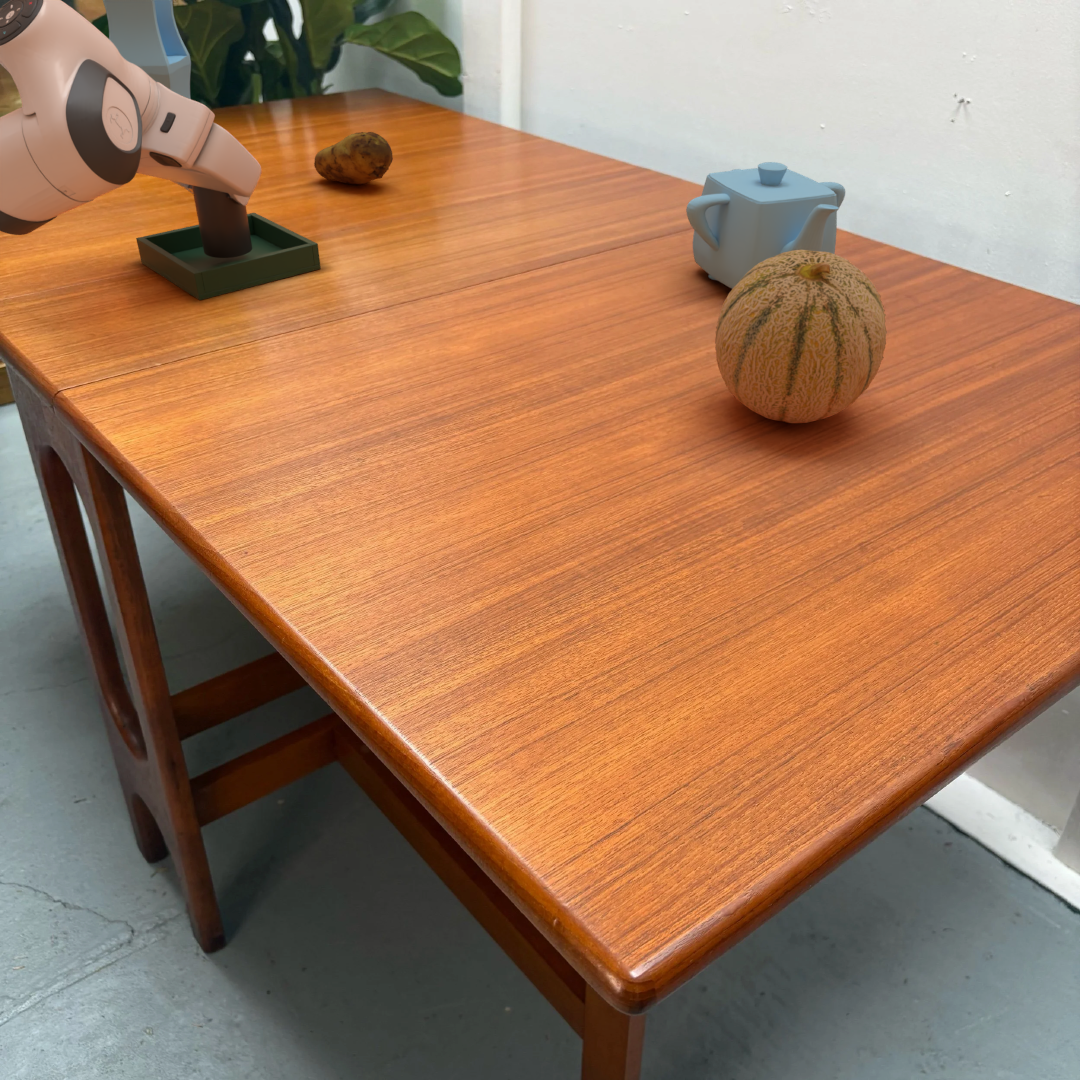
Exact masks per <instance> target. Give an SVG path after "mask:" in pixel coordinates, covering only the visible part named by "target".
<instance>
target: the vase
mask: <svg viewBox="0 0 1080 1080" xmlns="http://www.w3.org/2000/svg"><path fill="white" fill-rule="evenodd" d="M102 3H103V6H104V9H105V12H106V18H107V23H108V36H109V37H108V39H109V40H110V41H111V42H112V43H113V44H114V45H115V46H116V48H117V49H118V51H119V53H120V54H121V56H122V57H123V58H124V59H125V60H127V61H128V62H130V63H133V64H135V65H136V66H138V67H140V68H141V69H142V70H143V71H144V72H145V73H147V74H148V75H149V76H150V77H151V78H152V79H153V80H154V81H155V82H159V83H161V84H162V85H164V86H165V87H167V88H168V89H170V90H171V91H173V92H175V93H177V94H180V95H182V96H184V97H187V98H189V99H191V72H192V71H191V69H192V61H191V56H190V55H191V54H190V53H189V51H188V49H187V47H186V45H185V43H184V41H183V40H182V36H181V35H180V31H179V28H178V26H177V23H176V19H175V14H174V6H173V5H174V4H173V0H102Z"/></svg>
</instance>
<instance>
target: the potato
mask: <svg viewBox="0 0 1080 1080" xmlns="http://www.w3.org/2000/svg"><path fill="white" fill-rule="evenodd" d="M393 159H394V157H393V150H392V148H391V145H390V144H389V142H388V140H387V139H386V138H384V137H383V136H382V135H380V134H378V133H376V132H374V131H368V132H366V131H361V132H355V133H351V134H349V135H347V136H345V137H344V138H343V139H341V140H340V141H338V142H337V143H335V144H332V145H330V146H327V147H325V148H322V149H321V150H319V151H318V152H317V153H316V155H315V156H314V163H313V164H314V165H313V166H314V168H315V170H316V171H317V174H319V176H321V178H323V179H325V180H327V181H332V182H333V181H334V182H340V183H342V184H343V183H344V184H348V185H365V184H368V183H370V182H372V181H375V180H378V179H383V177H384V175H385V174H386V173H387V171H389V168H390V166H391V164H392V163H393V161H394V160H393Z"/></svg>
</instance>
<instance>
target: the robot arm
mask: <svg viewBox="0 0 1080 1080" xmlns="http://www.w3.org/2000/svg"><path fill="white" fill-rule="evenodd" d="M0 65H1V67H3V68H4V69H5V70H6V71H7V72H8V73H9V74H10V76H11V78H12V80H13V82H14V85H15V87H16V88H17V91H18V94H19V98H20V101H21V106H20V107H18V108H17V109H15V110H12V111H10V112H9V113H6V114H4V115H2V116H0V232H2V233H5V234H8V235H13V236H25V235H28V234H30V233H32V232H34V231H35V230H38V229H39V228H41V227H42V226H44V225H46V224H48V223H49V222H52V221H53V220H54V219H56V218H57V217H59V216H60V215H63V214H65V213H67V212H70V211H72V210H75V209H77V208H79V207H82V206H85V205H86V204H88V203H91V202H92V201H94V200H95V199H97V198H99V197H101V196H104V195H106V194H109V193H110V192H112V191H114V190H115V191H116V190H117V189H119V188H121V187H123V186H124V185H126V184H129V183H130V182H131V181H133V180H134V178H135V176H136V175H137V174H139V175H145V176H149V177H152V178H158V179H163V180H167V181H170V182H172V183H174V184H176V185H178V186H180V187H182V188H184V189H185V190H187V191H188V192H189V193H190V194H191V195H193V189H192V185H193V186H198V187H202V188H207V189H211V190H216V191H221V192H225V193H228V195H227V197H228V198H229V199H230V200H231V201H233V202H234V203H235V204H239V205H243V206H246V207H247V206H248V203H249V201H250V199H251V197H252V195H253V194H254V193H255V189H256V188H257V186H258V184H259V181H260V178H261V176H262V172H263V171H262V166H261V164H260V163H259V161H258V160H257V159H256V158H255V157H254V155H253V154H252V153H251V152H249V150H248V149H247V148H246V147H245V146H244V145H243V144H242V143H241V142H240V141H239V140H238V139H237V138H236V137H235V136H234V135H232V134H231V132H229V131H228V130H227V129H225V127H222V126H221V125H219V124H217V123H216V122H214V120H215V117H216V115H215V113H214V112H213V111H212V110H211V109H210V108H209V107H208V106H206V105H205V104H203V103H202V102H199V101H196V100H195V99H192V98H190V99H189V98H187V97H184V96H182V95H180V94H177V93H175V92H173V91H171V90H170V89H168V88H167V87H165V86H164V85H162V84H161V83H159V82H155V81H154V80H153V79H152V78H151V77H150V76H149V75H148V74H147V73H145V72H144V71H143V70H142V69H141V68H140V67H138V66H136V65H135V64H133V63H130V62H128V61H127V60H125V59H124V58H123V57H122V56H121V54H120V53H119V51H118V49H117V48H116V46H115V45H114V44H113V43H112V42H111V41H110V40H109V37H108V36H106V35H105V34H104V33H103V32H102V31H101V30H100V29H98V28H97V27H96V26H95V25H94V24H93V23H92V22H90V21H89V20H87V18H85V17H84V16H83V15H82V14H80V13H79V12H78V11H77V10H75V9H74V8H73V7H72V6H70V5H69V4H67V3H66V2H64V1H62V0H9V1H7V2H5V3H4V4H3V5H1V7H0Z"/></svg>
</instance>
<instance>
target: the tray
mask: <svg viewBox="0 0 1080 1080" xmlns="http://www.w3.org/2000/svg"><path fill="white" fill-rule="evenodd" d="M247 217H248V224H249V230H250V236H251V243H252V250H251V251H250V252H249V253H247V254H245V255H242V256H238V257H231V258H215V257H210V256H208V255H206V254H205V253H204V249H203V244H202V239H201V233H200V228H199V224H196V225H195V224H194V225H191V226H190V225H189V226H185V227H180V228H176V229H171V230H167V231H163V232H157V233H152V234H149V235H144V236H139V237H136V238H135V239H136V244H137V248H138V253H139V258H140V262H141V264H143V265H144V266H146V267H147V268H148V269H150V270H152V271H153V272H155V273H156V274H158V275H159V276H161V277H162V278H164V279H166V280H167V281H169V282H171V284H173V285H174V286H176V287H178V288H179V289H181V290H182V291H184V292H186V293H187V294H188V295H190V296H192V297H194V298H195V299H197V300H198V301H202V300H206V299H210V298H215V297H218V296H221V295H222V296H223V295H225V294H229V293H233V292H237V291H240V290H245V289H248V288H253V287H256V286H261V285H264V284H268V283H272V282H276V281H279V280H283V279H287V278H290V277H291V278H292V277H294V276H298V275H302V274H307V273H310V272H314V271H318V270H321V269H322V268H321V259H320V252H319V244H318V243H317V242H315V241H313V240H311V239H309V238H307V237H305V236H303V235H301V234H299V233H297V232H294V231H293V230H291V229H288V228H287V227H286V226H285V227H284V226H283V225H280V224H279V223H276V222H274V221H273V220H270V219H268V218H266V217H264V216H262V215H261V214H259V213H256V212H249V213H247Z"/></svg>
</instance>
